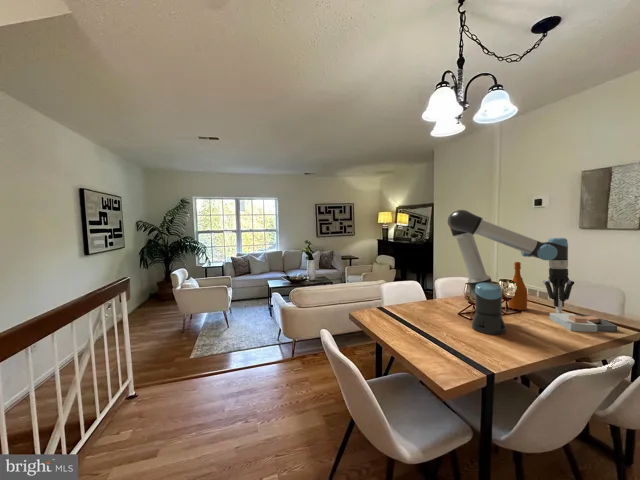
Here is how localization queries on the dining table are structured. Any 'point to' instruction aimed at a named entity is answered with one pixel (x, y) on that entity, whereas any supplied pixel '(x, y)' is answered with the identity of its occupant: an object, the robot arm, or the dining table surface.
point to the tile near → (577, 319)
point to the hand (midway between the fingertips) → (559, 312)
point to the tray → (604, 325)
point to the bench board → (572, 323)
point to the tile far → (592, 319)
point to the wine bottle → (519, 291)
